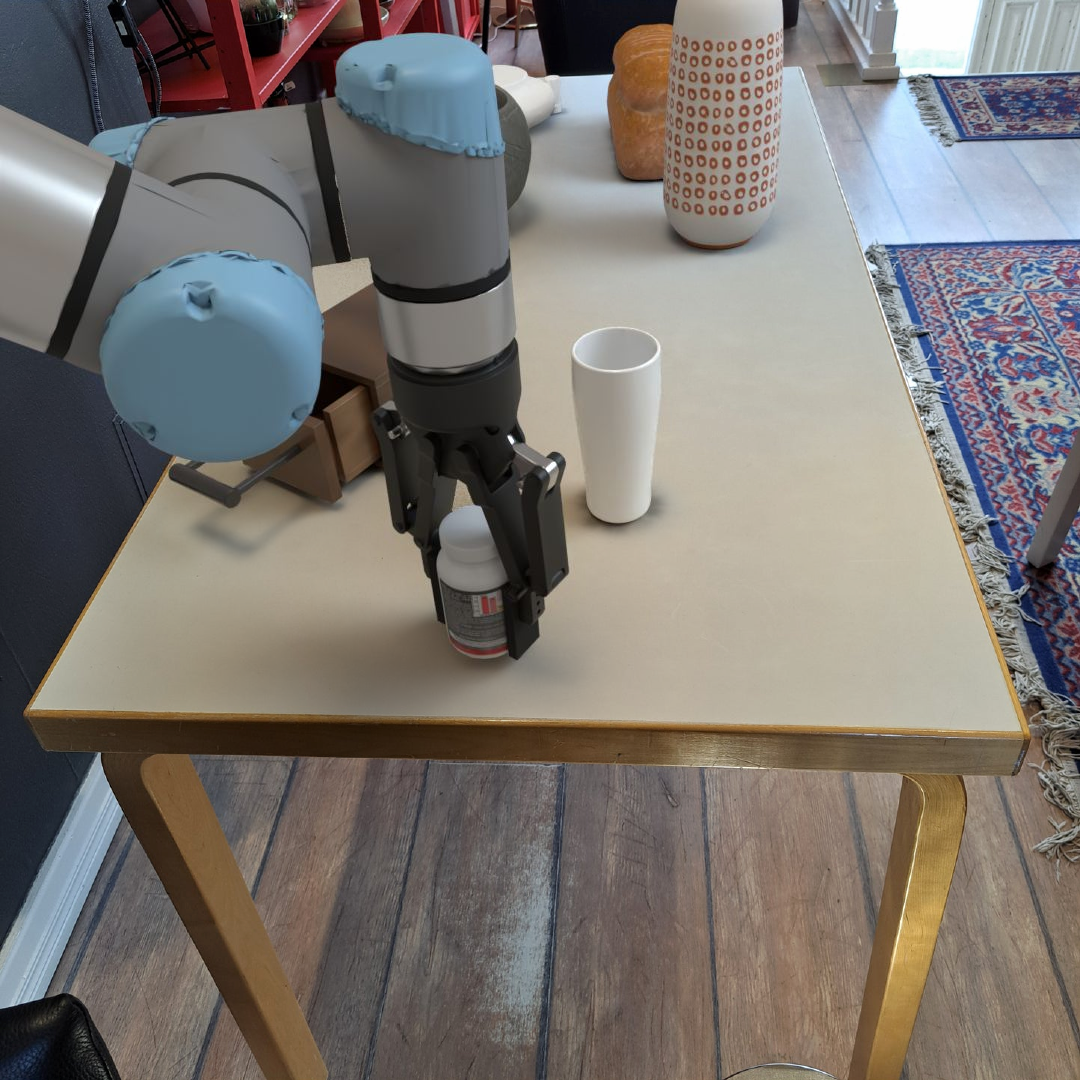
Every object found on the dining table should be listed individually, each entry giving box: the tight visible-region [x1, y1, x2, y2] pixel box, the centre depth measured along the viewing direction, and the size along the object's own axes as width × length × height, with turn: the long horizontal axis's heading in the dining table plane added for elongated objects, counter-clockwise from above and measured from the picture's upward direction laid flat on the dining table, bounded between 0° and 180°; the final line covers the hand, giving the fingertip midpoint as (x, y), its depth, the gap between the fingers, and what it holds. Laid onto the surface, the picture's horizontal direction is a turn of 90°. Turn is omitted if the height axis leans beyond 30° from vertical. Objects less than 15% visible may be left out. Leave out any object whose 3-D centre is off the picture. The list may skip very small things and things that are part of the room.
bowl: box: [495, 84, 532, 212], centre depth 124 cm, size 21×21×15 cm
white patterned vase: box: [662, 0, 784, 250], centre depth 111 cm, size 13×13×28 cm
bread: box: [606, 23, 673, 181], centre depth 139 cm, size 14×26×15 cm, turn 0°
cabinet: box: [321, 282, 393, 470], centre depth 92 cm, size 15×13×10 cm
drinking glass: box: [570, 326, 663, 524], centre depth 77 cm, size 7×7×15 cm
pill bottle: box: [437, 504, 509, 660], centre depth 67 cm, size 6×6×10 cm
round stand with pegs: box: [492, 64, 563, 129], centre depth 155 cm, size 24×24×7 cm
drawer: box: [167, 369, 382, 509], centre depth 85 cm, size 22×11×8 cm, turn 145°
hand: (488, 628), depth 70 cm, fingers closed on pill bottle, 6 cm apart
